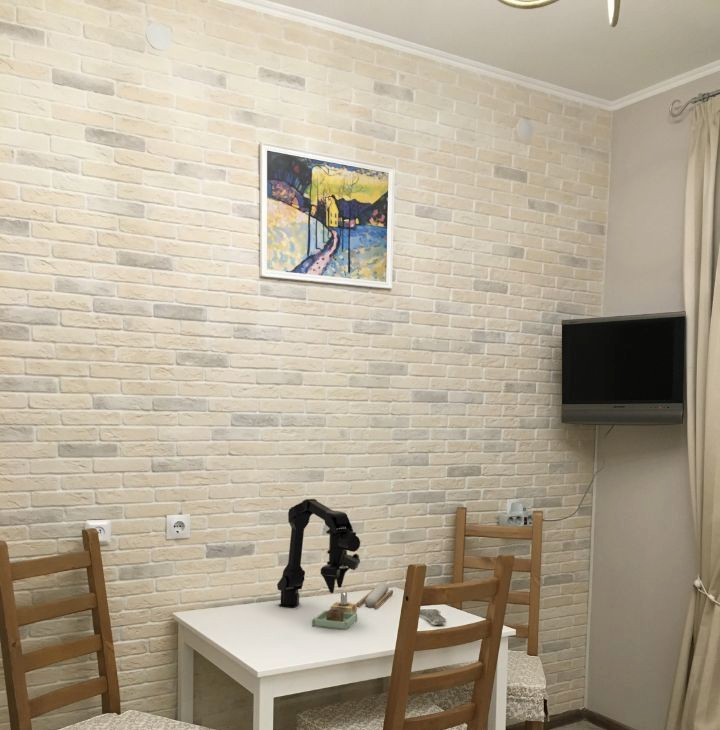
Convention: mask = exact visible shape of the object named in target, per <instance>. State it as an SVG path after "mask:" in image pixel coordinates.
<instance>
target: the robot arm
mask: <svg viewBox="0 0 720 730" xmlns="http://www.w3.org/2000/svg"><path fill="white" fill-rule="evenodd" d="M312 515H315V516H317V517H318V518H319V519H321V520H323V521H324V525H325V526H326V527H328V528H329V529H327V531H326V534H328V535H329V540H328V541H329V543H328V544H329V546H328V548H329V549H328V550H327V554H328V561H327V562H326V564H325V565H323V566H322V567H321V568H320V575H321V576H322V577H323V580H324V582H325V584H326V586H327V587H328V591H329V593H330V594H334V591H335V588H336V584H337V587H338V588H339V589H340V588H342V586H343V582H344V579H345V575H346V573H347V572H348V571H349V570H352V571H355V570H357V569H358V568H359V565H360V563H361V558H360V555H359V554H357V553H355V552H357V551H358V550H359V549H360V547H361V540H360V538H359V537H358V536H357V532H356V531H354V528H353V525H352V524H351V522H350V519H349V517H348V515H347V513H346V512H343V511H339V510H333V509H331V508H329V507H328V506H326V505H324V504H322V503H321V502H319V501H318V500H317V499H316V498H306V499H304V500H302V501H301V502H300V503H297V504H295V505H294V506H291V507H290V508H289V509H288V512H287V516H288V523H289V526H290V527H291V532H290V539H289V540H290V541H289V551H288V560H287V561H288V562H287V565H286V566H285V567H284V569H283V571H282V574H281V575H282V576H281V578H280V580H278V582H277V584H276V586H277V590H279V591H280V603H279V604H278V606H279V607H285V608H295V607H297V606H298V605H300V593H299V590H302V589H303V585H304V582H305V580H306V579H305V575H306V571H305V570H304V569H303V567H302V566H301V564H302V553H303V545H304V544H303V543H304V535H305V533H304V532H305V528H307V526H308V524H309V523H310V519H311V516H312ZM348 551H349V552H353V553H354V554H353V555H351V554H348Z"/></svg>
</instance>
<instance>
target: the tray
mask: <svg viewBox="0 0 720 730" xmlns="http://www.w3.org/2000/svg"><path fill="white" fill-rule="evenodd" d="M327 611H328V610H325V609H324V610H322V611H321V612H320V613H319V614H317V615H316V616H315V617H314V618H312V619H311V622H312V623H311V624H312V625H311V626H312V627H314V626H316V627H317V628H322V629H324V628H325V629H333V630H341V631H347V630H348V629H349V628H351V627H352V626H353V625H354V624H355V623H357V621H358V613H355V614H354V613H344V620H343V622H340V621H331V620H326V614H327ZM354 622H355V623H354ZM353 623H354V624H353ZM352 624H353V625H352ZM351 625H352V626H351ZM350 626H351V627H350Z"/></svg>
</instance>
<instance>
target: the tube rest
mask: <svg viewBox="0 0 720 730" xmlns="http://www.w3.org/2000/svg"><path fill="white" fill-rule="evenodd" d="M374 589H375V588H373V589H372V590H370V591H369V592H368V593H367V594H366V595H365V596H364V597H362V598H360V600H359V601H357V602H356V603H357V607H359V608H361V607H362V606H363V605H365V599H366V598H367V597H368V595H369V594H370V593H371V592H372V591H373V590H374ZM392 594H393V595H394V590H393V589H390V590H388V592H387V593H386V594H385V595H384V596H383V597H382V598H381V599H380V600H379V601H378V602H377V603H376V604H375V605H374V607H373V608H374V610H376V609H377V608H378V607H379V606H380V605H381V604H382V603H383V602H384V603H386V602H387V601H388V600H389V599H390V598H391V597H392V596H393V595H392ZM391 595H392V596H391ZM390 596H391V597H390ZM389 597H390V598H389ZM388 598H389V599H388ZM387 599H388V600H387ZM386 600H387V601H386ZM384 603H383V604H384ZM362 604H363V605H362ZM383 604H382V605H383ZM361 605H362V606H361ZM382 605H381V606H382ZM360 606H361V607H360ZM381 606H380V607H381ZM380 607H379V608H380ZM379 608H378V609H379ZM378 609H377V610H378Z"/></svg>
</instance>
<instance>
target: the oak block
mask: <svg viewBox="0 0 720 730" xmlns="http://www.w3.org/2000/svg"><path fill="white" fill-rule="evenodd" d="M330 609H339V610H344V613H354V614H357V613H358V612H357V611H358V608H357V602H348V601H347V606H341V601H340V600H338V601H335V603H333V604H331V605H330ZM356 612H357V613H356Z"/></svg>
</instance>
